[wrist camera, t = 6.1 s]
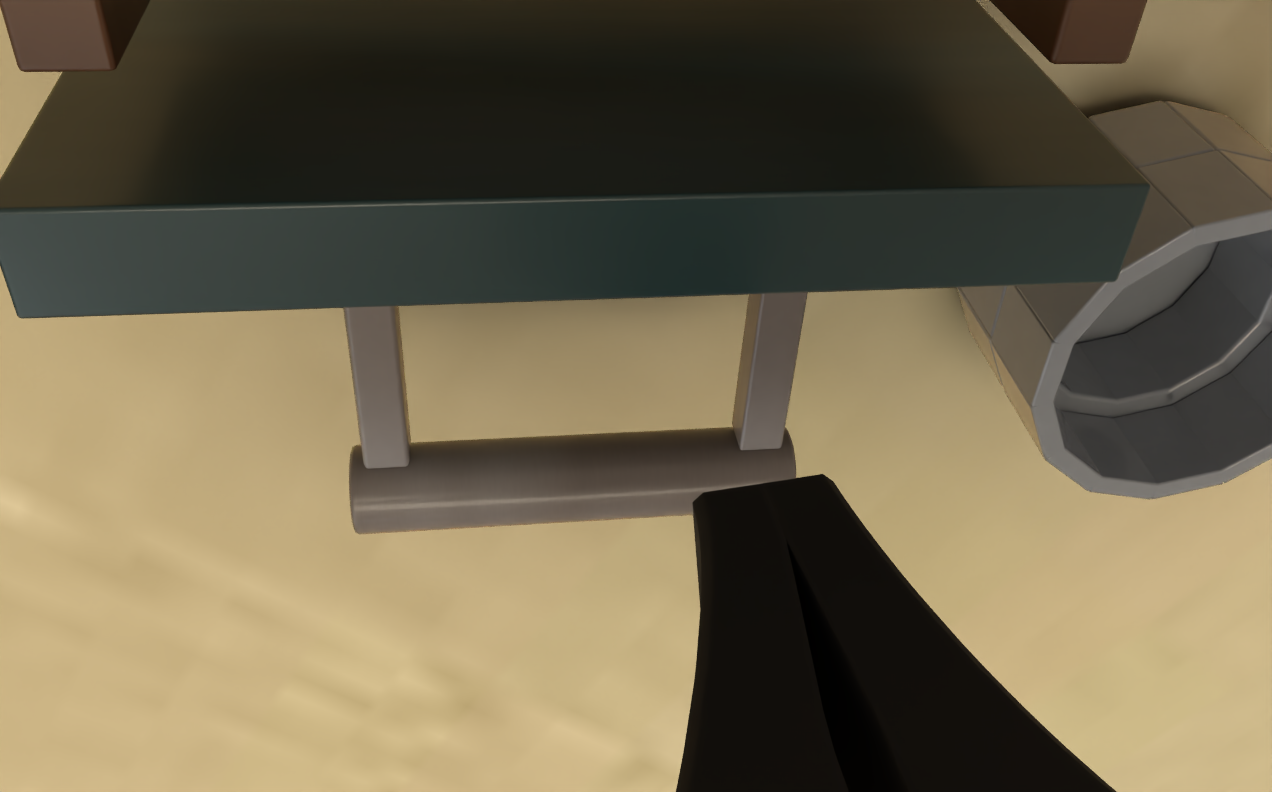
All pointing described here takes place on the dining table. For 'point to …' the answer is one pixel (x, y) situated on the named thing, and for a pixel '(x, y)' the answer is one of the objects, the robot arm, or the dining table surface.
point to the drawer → (554, 190)
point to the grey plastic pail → (1153, 321)
